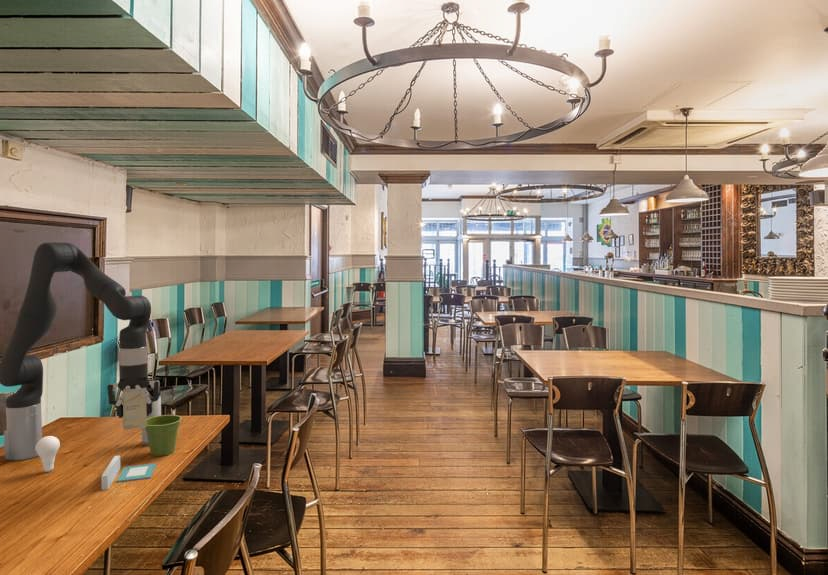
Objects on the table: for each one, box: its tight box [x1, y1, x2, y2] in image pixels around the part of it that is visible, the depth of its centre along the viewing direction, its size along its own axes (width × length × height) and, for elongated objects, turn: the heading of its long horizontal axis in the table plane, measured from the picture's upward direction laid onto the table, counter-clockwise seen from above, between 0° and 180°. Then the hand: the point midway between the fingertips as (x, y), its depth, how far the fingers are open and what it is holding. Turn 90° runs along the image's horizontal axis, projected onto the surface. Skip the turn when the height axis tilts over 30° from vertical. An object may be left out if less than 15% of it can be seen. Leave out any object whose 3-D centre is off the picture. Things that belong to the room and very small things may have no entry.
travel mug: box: [141, 386, 162, 446], centre depth 181 cm, size 6×7×20 cm
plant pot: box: [145, 414, 183, 457], centre depth 171 cm, size 12×12×11 cm
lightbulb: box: [35, 435, 61, 473], centre depth 155 cm, size 6×6×11 cm
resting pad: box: [116, 462, 158, 483], centre depth 155 cm, size 9×11×1 cm
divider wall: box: [100, 455, 121, 491], centre depth 151 cm, size 2×16×4 cm, turn 19°
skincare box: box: [122, 388, 147, 431], centre depth 153 cm, size 6×4×12 cm
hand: (134, 416), depth 154 cm, fingers closed on skincare box, 7 cm apart
